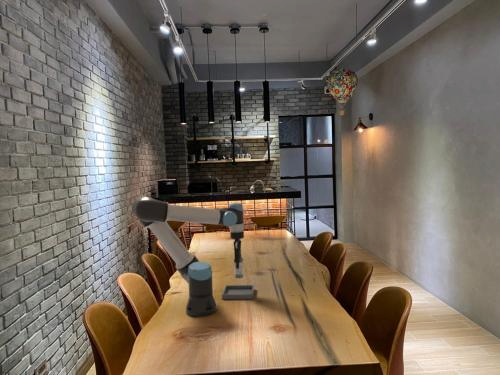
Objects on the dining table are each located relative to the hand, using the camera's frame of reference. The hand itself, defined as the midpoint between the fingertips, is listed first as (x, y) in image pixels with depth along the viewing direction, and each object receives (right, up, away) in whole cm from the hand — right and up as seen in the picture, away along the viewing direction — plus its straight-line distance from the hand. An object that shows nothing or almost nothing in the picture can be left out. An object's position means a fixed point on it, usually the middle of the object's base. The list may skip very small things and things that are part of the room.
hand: (238, 272), depth 206 cm
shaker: (0, -3, 0) cm, 3 cm away
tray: (0, -12, +1) cm, 12 cm away
